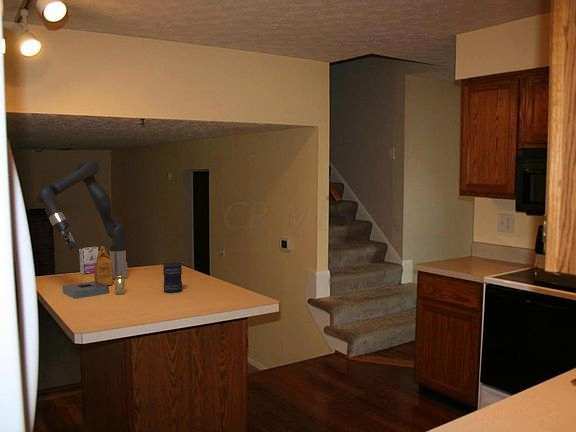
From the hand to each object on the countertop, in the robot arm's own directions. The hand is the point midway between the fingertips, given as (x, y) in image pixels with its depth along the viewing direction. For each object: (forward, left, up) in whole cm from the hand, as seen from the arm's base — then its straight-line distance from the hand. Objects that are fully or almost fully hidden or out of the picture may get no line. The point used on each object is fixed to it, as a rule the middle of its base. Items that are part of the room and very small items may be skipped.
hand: (74, 249), depth 282 cm
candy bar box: (-28, -53, -24) cm, 64 cm away
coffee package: (-20, -11, -24) cm, 33 cm away
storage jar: (-41, +31, -24) cm, 57 cm away
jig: (-4, +4, -24) cm, 24 cm away
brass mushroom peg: (-17, +18, -24) cm, 34 cm away
